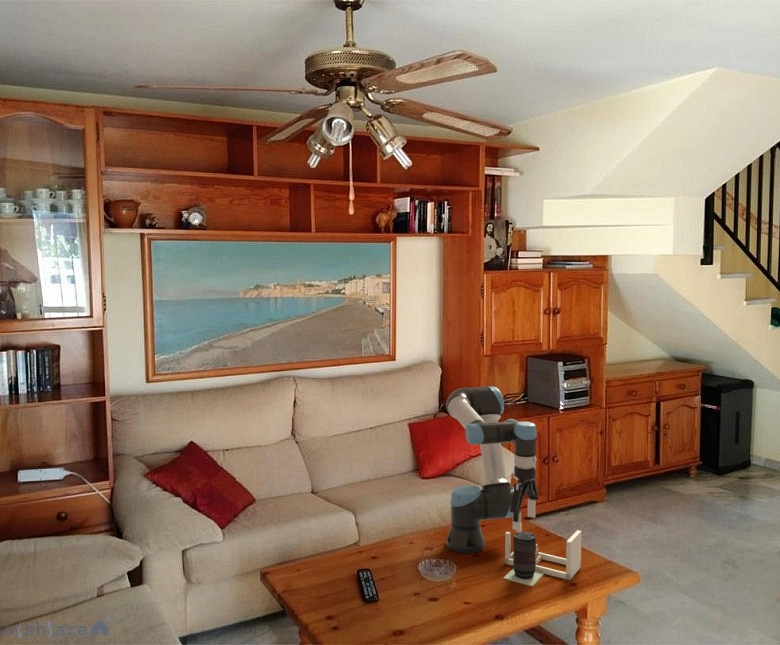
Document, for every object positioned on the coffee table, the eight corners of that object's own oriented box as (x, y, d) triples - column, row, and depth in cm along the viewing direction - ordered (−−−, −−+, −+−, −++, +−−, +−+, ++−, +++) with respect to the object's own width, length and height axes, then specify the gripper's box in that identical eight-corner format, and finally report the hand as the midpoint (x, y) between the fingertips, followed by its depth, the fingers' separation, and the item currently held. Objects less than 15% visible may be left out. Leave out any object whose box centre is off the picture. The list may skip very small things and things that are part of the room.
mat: (503, 578, 251) (503, 577, 251) (515, 567, 260) (515, 565, 260) (532, 586, 245) (532, 585, 245) (544, 574, 254) (544, 573, 254)
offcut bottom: (513, 564, 263) (513, 558, 263) (521, 556, 270) (521, 551, 270) (533, 569, 259) (533, 563, 259) (541, 561, 266) (541, 555, 265)
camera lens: (534, 570, 256) (535, 531, 255) (536, 580, 248) (537, 540, 247) (512, 569, 257) (512, 530, 255) (513, 579, 249) (514, 539, 247)
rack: (505, 563, 263) (505, 527, 261) (517, 552, 273) (518, 517, 271) (570, 580, 249) (570, 542, 248) (580, 567, 259) (581, 531, 258)
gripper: (521, 477, 236) (520, 537, 238) (547, 458, 256) (546, 513, 259) (500, 473, 240) (500, 533, 242) (528, 455, 261) (527, 509, 263)
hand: (524, 523), depth 251 cm, fingers open, 13 cm apart
